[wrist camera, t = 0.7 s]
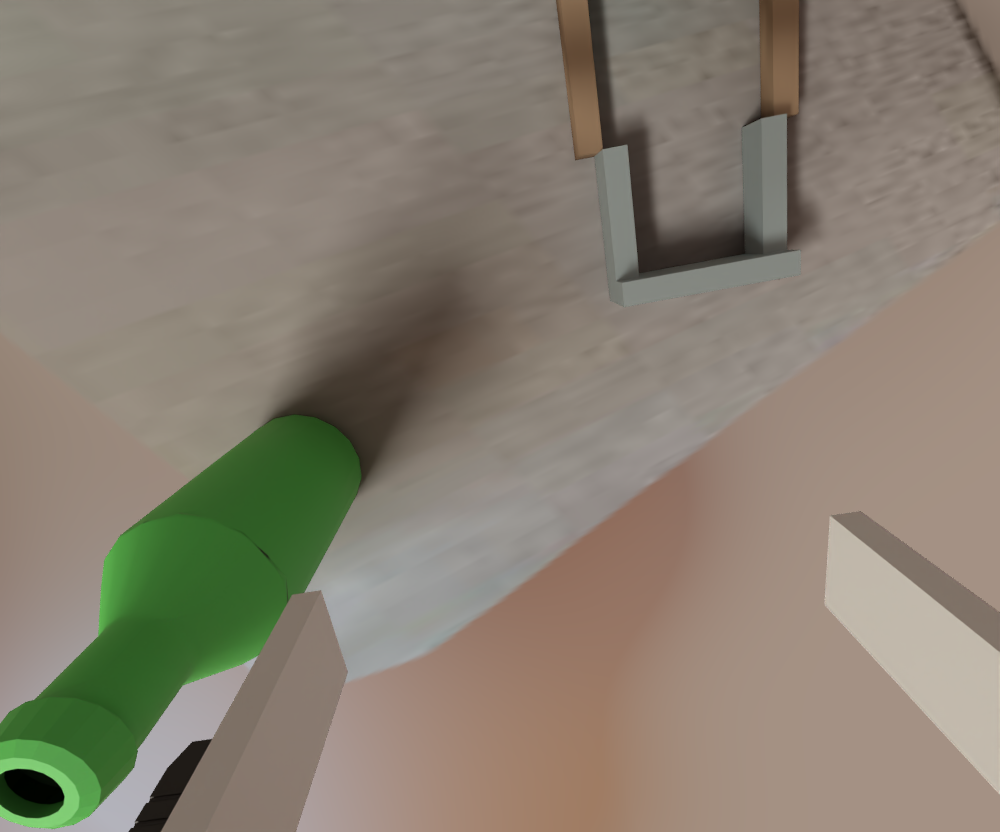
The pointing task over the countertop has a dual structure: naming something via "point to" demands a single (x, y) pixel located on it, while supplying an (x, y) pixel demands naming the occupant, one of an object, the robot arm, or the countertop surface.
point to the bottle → (179, 612)
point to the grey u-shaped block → (758, 264)
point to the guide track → (581, 83)
